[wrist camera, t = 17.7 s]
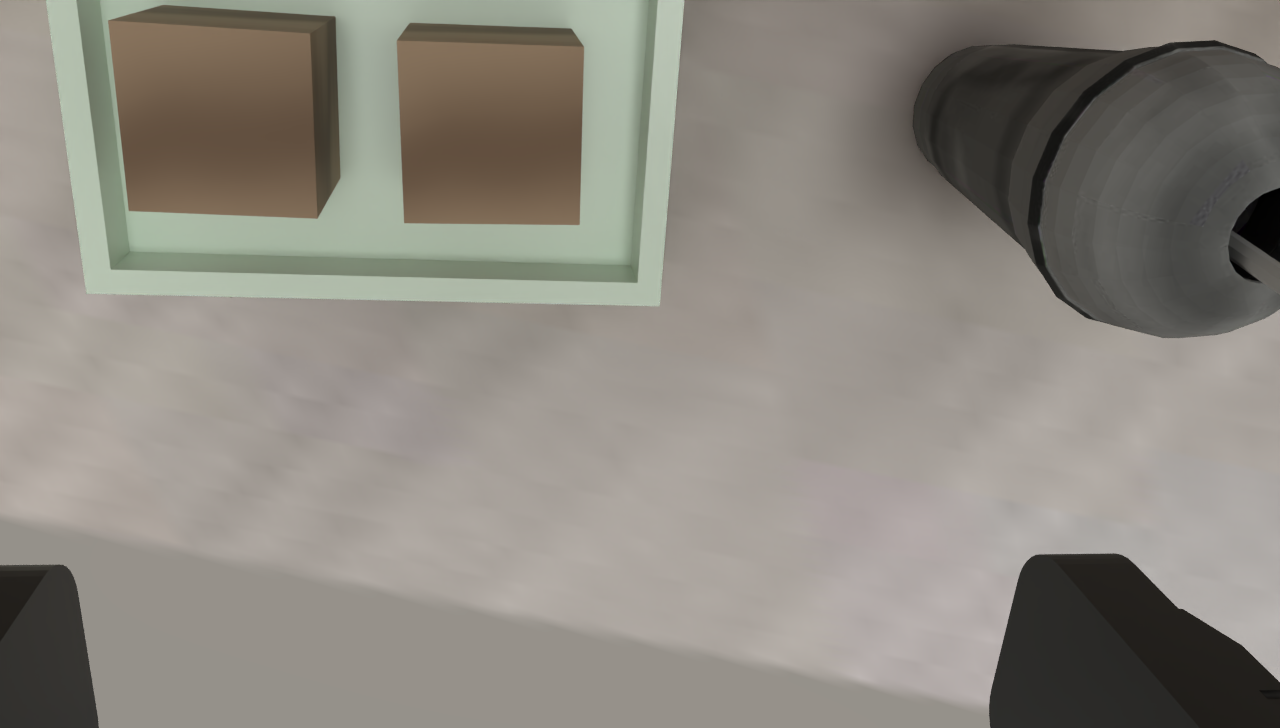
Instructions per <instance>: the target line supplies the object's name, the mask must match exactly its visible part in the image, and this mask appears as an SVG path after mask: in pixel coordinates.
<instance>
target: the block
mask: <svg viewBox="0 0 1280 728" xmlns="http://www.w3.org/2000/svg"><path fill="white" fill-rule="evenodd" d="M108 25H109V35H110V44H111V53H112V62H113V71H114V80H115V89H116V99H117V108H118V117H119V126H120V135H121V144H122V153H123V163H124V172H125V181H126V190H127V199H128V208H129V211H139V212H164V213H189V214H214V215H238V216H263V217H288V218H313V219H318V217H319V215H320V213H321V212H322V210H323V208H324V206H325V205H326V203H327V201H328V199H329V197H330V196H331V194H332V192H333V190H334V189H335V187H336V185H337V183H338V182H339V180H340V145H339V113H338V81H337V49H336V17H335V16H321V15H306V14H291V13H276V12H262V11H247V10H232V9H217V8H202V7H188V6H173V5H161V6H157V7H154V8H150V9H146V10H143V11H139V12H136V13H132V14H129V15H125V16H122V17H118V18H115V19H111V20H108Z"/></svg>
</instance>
